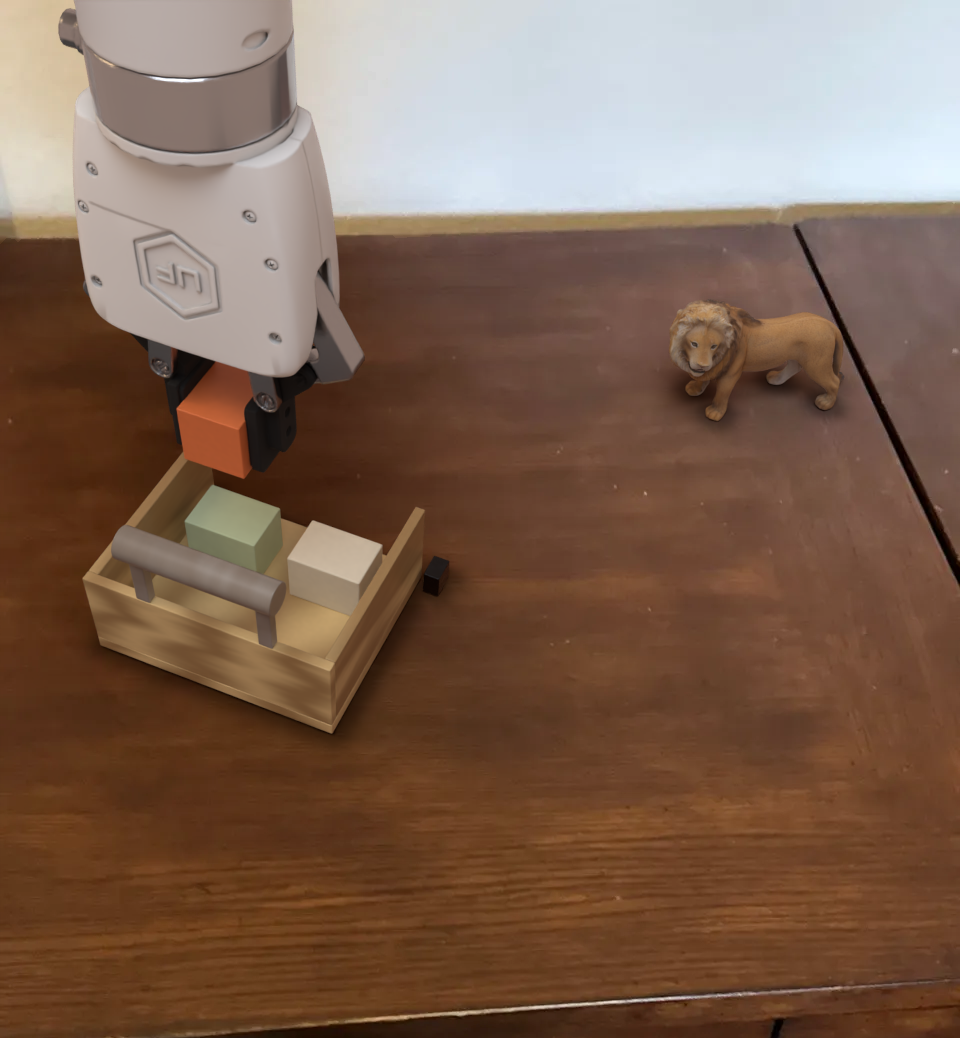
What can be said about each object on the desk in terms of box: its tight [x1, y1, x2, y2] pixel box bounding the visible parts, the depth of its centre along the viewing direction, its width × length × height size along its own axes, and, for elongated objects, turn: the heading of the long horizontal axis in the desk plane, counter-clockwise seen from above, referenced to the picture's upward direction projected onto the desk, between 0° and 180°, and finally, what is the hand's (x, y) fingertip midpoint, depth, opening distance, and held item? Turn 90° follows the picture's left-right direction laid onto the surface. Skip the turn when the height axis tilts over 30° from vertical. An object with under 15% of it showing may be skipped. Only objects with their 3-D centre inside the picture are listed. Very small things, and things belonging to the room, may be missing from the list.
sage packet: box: [185, 484, 283, 574], centre depth 72 cm, size 4×3×3 cm
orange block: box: [177, 361, 253, 480], centre depth 60 cm, size 4×3×3 cm
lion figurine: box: [668, 298, 845, 422], centre depth 83 cm, size 15×5×9 cm, turn 110°
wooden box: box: [82, 451, 426, 734], centre depth 68 cm, size 14×13×11 cm
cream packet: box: [287, 520, 383, 616], centre depth 71 cm, size 4×3×3 cm
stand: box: [422, 555, 450, 597], centre depth 75 cm, size 17×2×2 cm, turn 68°
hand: (235, 437), depth 61 cm, fingers closed on orange block, 3 cm apart
